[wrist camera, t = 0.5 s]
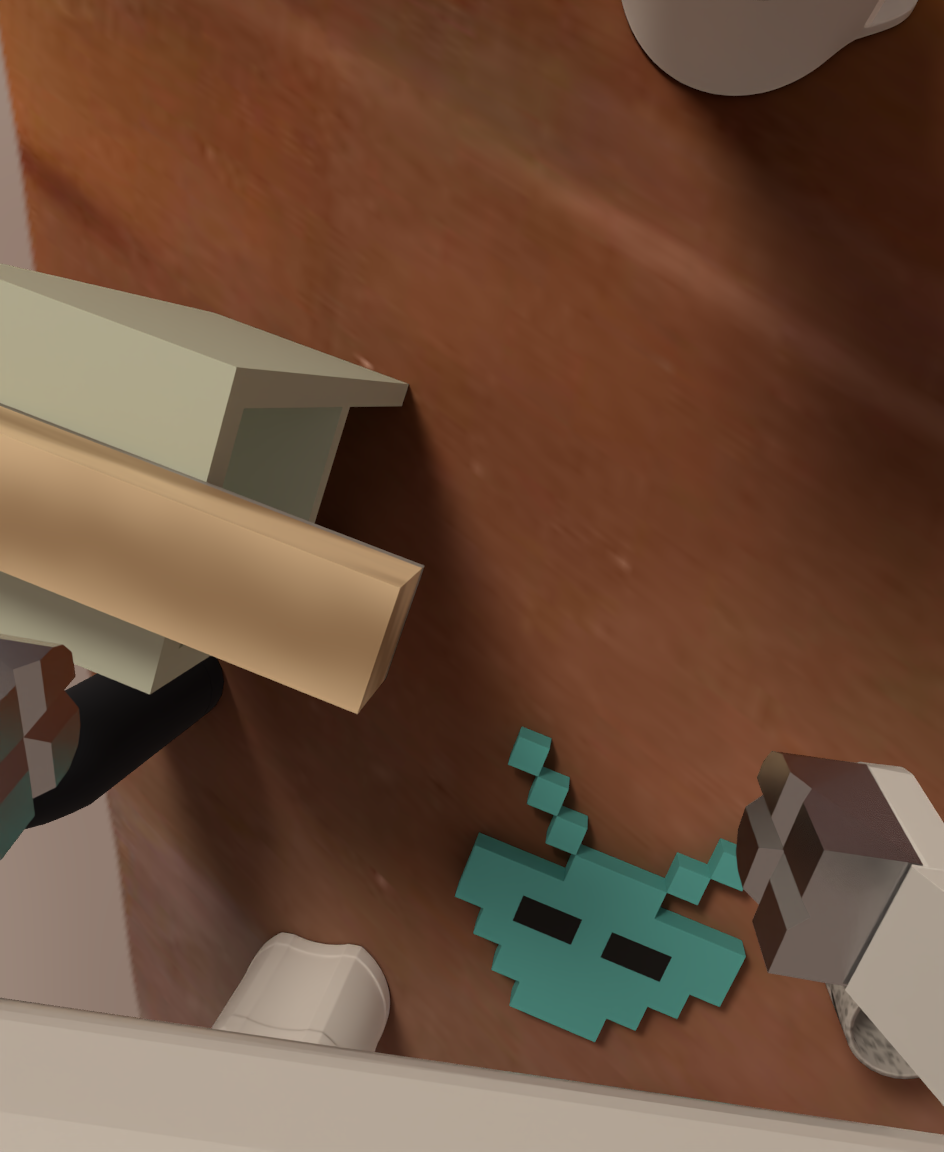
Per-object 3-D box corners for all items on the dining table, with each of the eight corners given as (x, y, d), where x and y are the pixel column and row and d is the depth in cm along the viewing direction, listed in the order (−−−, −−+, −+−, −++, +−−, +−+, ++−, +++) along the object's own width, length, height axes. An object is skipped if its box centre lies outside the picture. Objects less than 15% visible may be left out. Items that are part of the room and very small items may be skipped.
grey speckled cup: (799, 970, 58) (823, 1041, 51) (856, 901, 56) (888, 965, 50) (924, 1044, 58) (964, 1125, 51) (985, 977, 56) (1034, 1051, 49)
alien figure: (522, 724, 58) (431, 950, 63) (519, 736, 56) (425, 970, 60) (794, 832, 56) (679, 1055, 61) (801, 849, 54) (681, 1079, 59)
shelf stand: (214, 313, 55) (-117, 236, 30) (408, 384, 54) (236, 367, 28) (168, 495, 58) (-167, 565, 33) (350, 565, 57) (149, 694, 32)
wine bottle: (223, 639, 60) (-138, 864, 30) (224, 722, 61) (-121, 1012, 32) (141, 631, 60) (-285, 841, 31) (144, 712, 62) (-263, 986, 33)
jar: (249, 1029, 66) (149, 1204, 52) (251, 925, 64) (148, 1077, 50) (387, 1056, 65) (324, 1245, 50) (394, 950, 63) (330, 1115, 48)
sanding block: (-51, 383, 30) (-136, 380, 27) (424, 565, 29) (400, 587, 25) (-72, 497, 31) (-156, 508, 28) (386, 678, 30) (357, 714, 27)
